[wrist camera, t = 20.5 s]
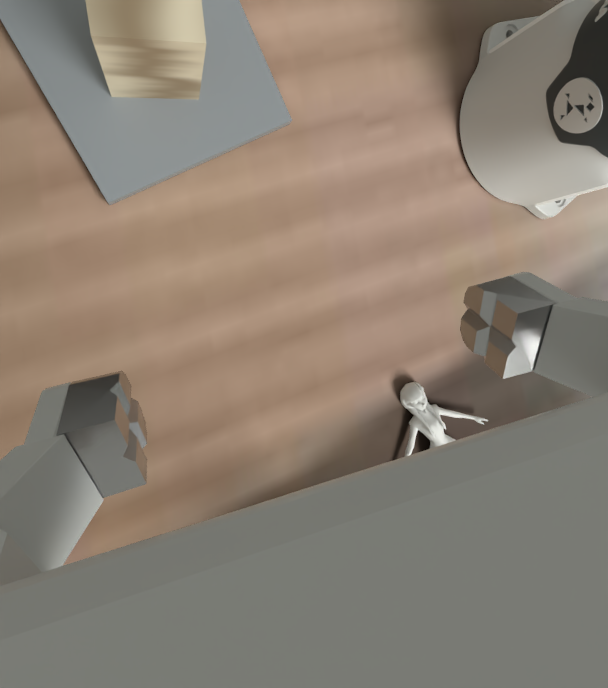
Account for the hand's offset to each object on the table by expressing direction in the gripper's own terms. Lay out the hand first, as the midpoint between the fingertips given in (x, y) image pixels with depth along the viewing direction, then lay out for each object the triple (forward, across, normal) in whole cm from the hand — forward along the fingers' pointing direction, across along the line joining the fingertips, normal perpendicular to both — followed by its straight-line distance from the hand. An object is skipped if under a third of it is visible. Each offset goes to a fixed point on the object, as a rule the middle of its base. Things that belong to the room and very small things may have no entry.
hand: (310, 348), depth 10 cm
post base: (+32, +2, -6) cm, 33 cm away
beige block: (+32, +2, -6) cm, 32 cm away
